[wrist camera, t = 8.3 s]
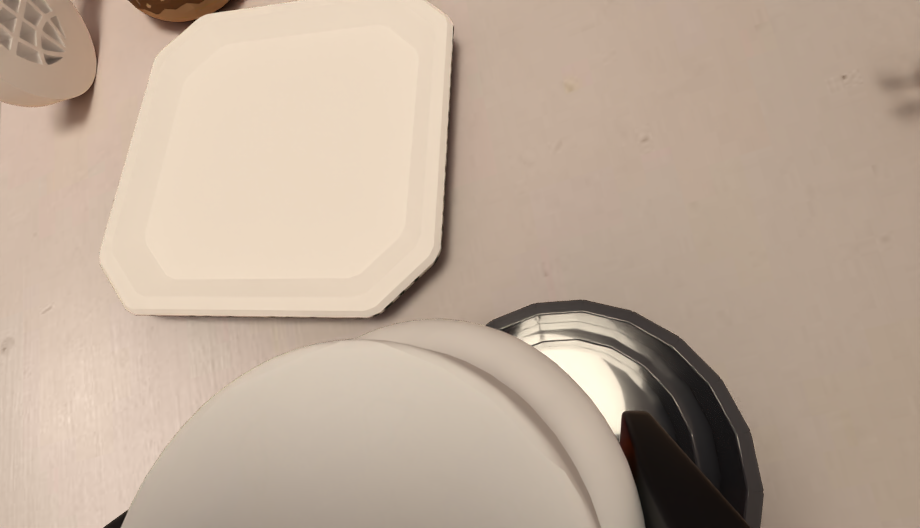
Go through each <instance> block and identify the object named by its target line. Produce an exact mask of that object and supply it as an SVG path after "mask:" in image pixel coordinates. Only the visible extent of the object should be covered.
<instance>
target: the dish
mask: <svg viewBox="0 0 920 528" xmlns="http://www.w3.org/2000/svg"><path fill="white" fill-rule="evenodd" d="M486 326H488V327H491V328H494V329H497V330H500V331H503V332H505V333H508V334H510V335H512V336H514V337H517V338H519V339H520V340H522V341H524V342H526V343H527V344H529V345H531V346H533V347H534V348H536V349H537V350H539V351H540V352H542V353H543V354H545V355H546V356H548V357H549V358H550V359H551V360H553V361H554V362H555V363H556V364H557V365H559V366H560V367H561V368H562V369H563V370H564V371H565V372H566V373H567V374H568V375H569V376H570V377H571V378H572V379H573V380H574V381H575V382H576V383H577V384H578V385H579V386H580V387H581V388H582V389H583V390H584V391H585V393H586V394H587V395H588V396H589V397H590V398H591V399H592V401H593V402H594V404H595V405H596V406H597V408H598V409H599V411H600V412H601V413H602V415H603V416H604V418H605V419H606V421H607V423H608V424H609V426H610V428H611V429H612V431H613V433H614V434H615V436H616V438H617V440H618V442H619V444H620V431H621V416H622V413H623V412H624V411H646V412H648V413H649V414H651V415H652V417H653V418H654V419H655V420H656V421H657V422H658V423H659V424H660V426H661V427H662V428H663V429H664V430H665V431H666V432H667V433H668V435H669V436H670V437H671V438H672V439H673V440H674V441H675V442H676V444H677V445H678V446H679V447H680V448H681V449H682V450H683V451H684V453H685V454H686V455H687V456H688V457H689V458H690V459H691V460H692V462H693V463H694V464H695V465H696V466H697V467H698V468H699V470H700V471H701V472H702V473H703V474H704V475H705V476H706V477H707V479H708V480H709V481H710V482H711V483H712V484H713V485H714V486H715V488H716V489H717V490H718V491H719V492H720V493H721V494H722V495H723V497H724V498H725V499H726V500H727V501H728V502H729V503H730V504H731V506H732V507H733V508H734V509H735V510H736V511H737V512H738V513H739V515H740V516H741V517H742V518H743V519H744V520H745V521H746V522H747V524H748V525H749V526H750V527H751V528H760V525H761V515H762V506H763V496H764V494H763V486H762V482H761V477H760V472H759V468H758V463H757V459H756V454H755V449H754V445H753V440H752V436H751V433H750V429H749V428H748V426H747V424H746V422H745V420H744V419H743V417H742V415H741V413H740V411H739V410H738V408H737V406H736V404H735V402H734V401H733V399H732V397H731V395H730V393H729V392H728V390H727V388H726V386H725V384H724V382H723V381H722V379H720V377H719V376H718V375H717V374H716V373H715V372H714V371H713V370H712V369H711V368H710V367H709V366H708V365H707V364H706V363H705V362H704V361H703V360H702V359H701V358H700V357H699V356H698V355H697V354H696V353H695V352H694V351H693V350H692V349H691V348H690V347H689V346H688V345H687V344H686V343H685V342H684V341H683V340H682V339H681V338H679V336H677V335H675V334H673V333H671V332H670V331H668V330H666V329H664V328H662V327H661V326H659V325H657V324H655V323H653V322H652V321H650V320H648V319H646V318H645V317H643V316H641V315H639V314H637V313H636V312H632V311H631V310H627V309H622V308H618V307H613V306H609V305H605V304H600V303H596V302H591V301H587V300H570V301H557V302H543V303H536V304H531V305H529V306H526V307H524V308H521V309H519V310H516V311H514V312H511V313H509V314H506V315H504V316H501V317H499V318H496V319H494V320H492V321H490V322H489V323H488V324H487V325H486Z"/></svg>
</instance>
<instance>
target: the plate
mask: <svg viewBox="0 0 920 528" xmlns="http://www.w3.org/2000/svg"><path fill="white" fill-rule="evenodd" d="M453 36H454V26H453V23H452V21H451V19H450V17H449V16H447V15H446V14H445V13H443V12H442V11H441V10H439V9H438V8H436V7H435V6H434V5H432V4H431V3H430V2H428V1H427V0H300V1H293V2H287V3H280V4H273V5H266V6H259V7H252V8H245V9H239V10H232V11H225V12H218V13H211V14H206V15H204V16H202V17H200V18H198V19H197V20H196V21H195V22H194V23H192V24H191V25H190V26H189V27H188V28H187V29H186V30H184V31H183V32H182V33H181V34H180V35H179V36H177V37H176V38H175V39H174V40H173V41H172V42H171V43H169V44H168V45H167V46H166V47H165V48H164V49H162V50H161V51H160V52H159V53H158V55H157V56H156V58H155V59H154V63H153V66H152V70H151V73H150V77H149V80H148V84H147V87H146V91H145V94H144V98H143V101H142V105H141V108H140V112H139V115H138V119H137V122H136V126H135V129H134V133H133V136H132V140H131V143H130V147H129V150H128V154H127V157H126V161H125V164H124V168H123V171H122V175H121V178H120V182H119V185H118V189H117V192H116V196H115V199H114V203H113V206H112V210H111V213H110V217H109V220H108V224H107V227H106V231H105V234H104V238H103V241H102V245H101V248H100V252H99V257H100V266H101V268H102V269H103V271H104V273H105V275H106V276H107V278H108V280H109V282H110V283H111V285H112V287H113V288H114V290H115V292H116V294H117V295H118V297H119V299H120V301H121V302H122V304H123V306H124V308H125V309H126V310H127V311H128V312H130V313H132V314H134V315H142V316H220V317H302V318H371V317H374V316H376V315H379V314H381V313H383V312H384V311H385V310H386V309H387V308H388V307H389V306H390V305H391V304H392V303H393V302H394V301H396V300H397V299H398V298H399V297H400V296H401V295H402V294H403V293H404V292H405V291H406V290H407V289H408V288H409V287H410V286H411V285H412V284H413V283H415V282H416V281H417V280H418V279H419V278H420V277H421V276H422V275H423V274H424V273H425V272H426V271H427V270H428V269H429V268H430V267H431V266H432V265H434V264H435V263H436V261H437V259H438V257H439V254H440V252H441V250H442V232H443V215H444V197H445V179H446V162H447V144H448V126H449V108H450V90H451V72H452V54H453Z"/></svg>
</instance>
